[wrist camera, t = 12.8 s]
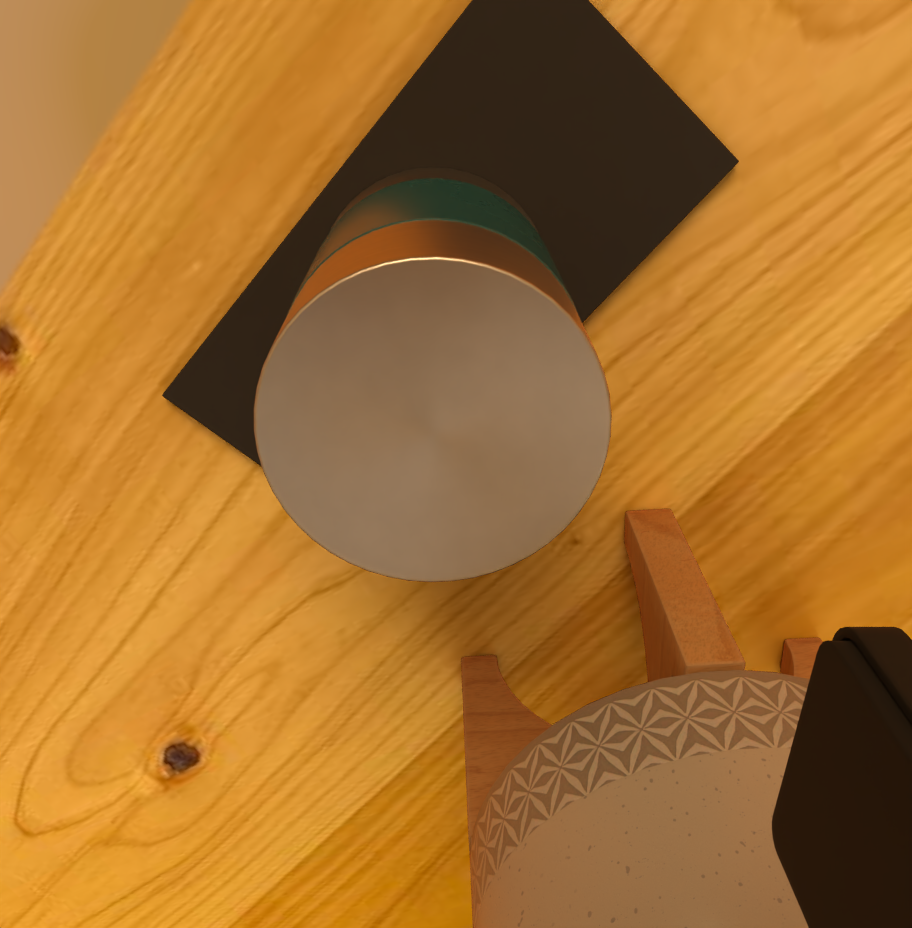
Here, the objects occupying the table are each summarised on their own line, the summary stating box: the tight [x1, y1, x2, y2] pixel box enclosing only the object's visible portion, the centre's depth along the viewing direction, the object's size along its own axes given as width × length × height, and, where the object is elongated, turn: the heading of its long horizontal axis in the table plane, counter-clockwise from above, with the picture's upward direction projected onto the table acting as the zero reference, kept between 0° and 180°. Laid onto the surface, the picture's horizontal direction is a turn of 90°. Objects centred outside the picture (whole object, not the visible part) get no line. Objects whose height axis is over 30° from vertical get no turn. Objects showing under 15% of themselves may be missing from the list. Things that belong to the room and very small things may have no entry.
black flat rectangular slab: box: [162, 0, 739, 466], centre depth 25 cm, size 16×8×1 cm, turn 139°
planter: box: [461, 509, 823, 928], centre depth 24 cm, size 13×13×18 cm
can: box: [254, 167, 612, 582], centre depth 21 cm, size 7×7×10 cm
